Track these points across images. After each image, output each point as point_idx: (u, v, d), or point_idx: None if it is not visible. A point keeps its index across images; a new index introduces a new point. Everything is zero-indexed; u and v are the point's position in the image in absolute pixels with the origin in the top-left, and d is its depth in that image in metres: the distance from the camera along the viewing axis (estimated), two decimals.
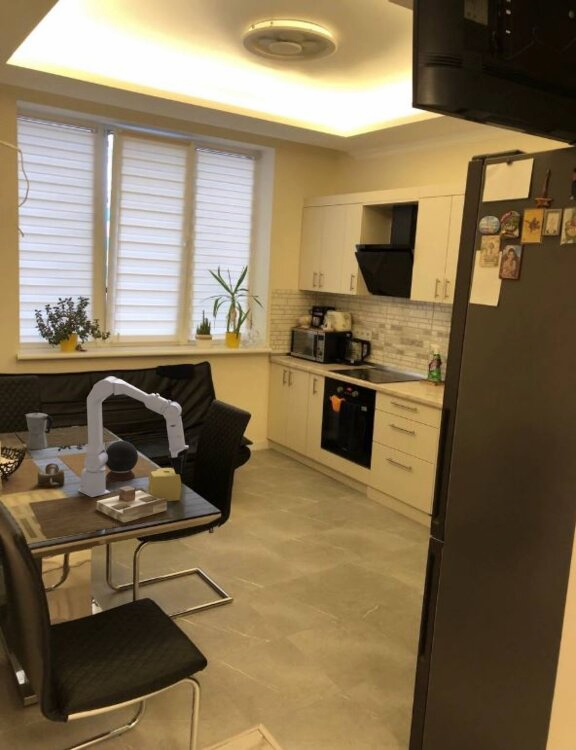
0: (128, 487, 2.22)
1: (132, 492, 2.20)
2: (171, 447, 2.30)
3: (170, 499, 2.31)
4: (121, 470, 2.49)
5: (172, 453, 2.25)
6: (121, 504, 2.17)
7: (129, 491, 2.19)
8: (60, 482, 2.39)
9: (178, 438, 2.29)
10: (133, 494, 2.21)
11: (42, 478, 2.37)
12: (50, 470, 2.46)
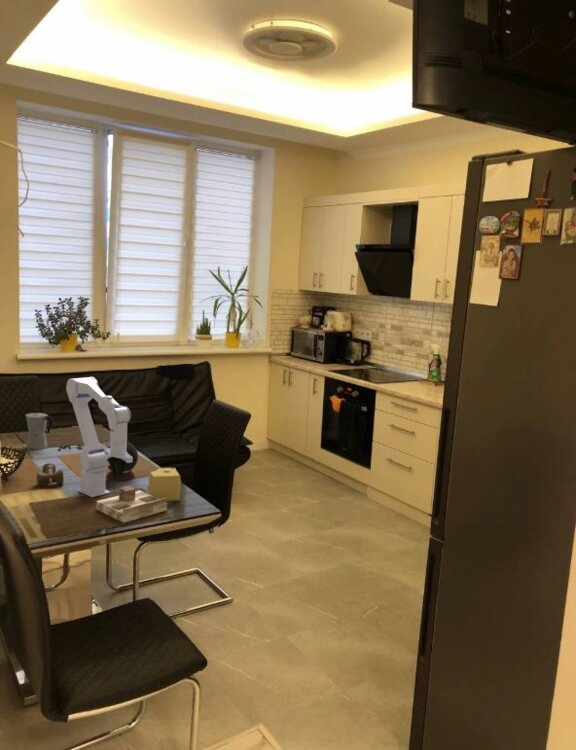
0: (128, 487, 2.22)
1: (132, 492, 2.20)
2: None
3: (170, 499, 2.31)
4: None
5: None
6: (121, 504, 2.17)
7: (129, 491, 2.19)
8: (59, 482, 2.39)
9: None
10: (133, 494, 2.21)
11: (42, 478, 2.37)
12: (48, 470, 2.46)
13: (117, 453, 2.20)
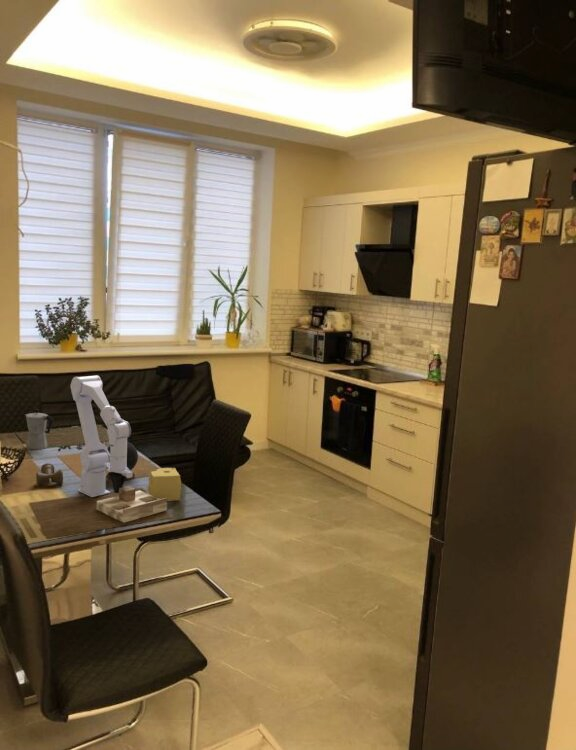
0: (128, 487, 2.22)
1: (132, 492, 2.20)
2: None
3: (170, 499, 2.31)
4: None
5: None
6: (121, 504, 2.17)
7: (129, 491, 2.19)
8: (59, 482, 2.39)
9: None
10: (133, 494, 2.21)
11: (41, 478, 2.37)
12: (47, 470, 2.46)
13: (117, 468, 2.21)
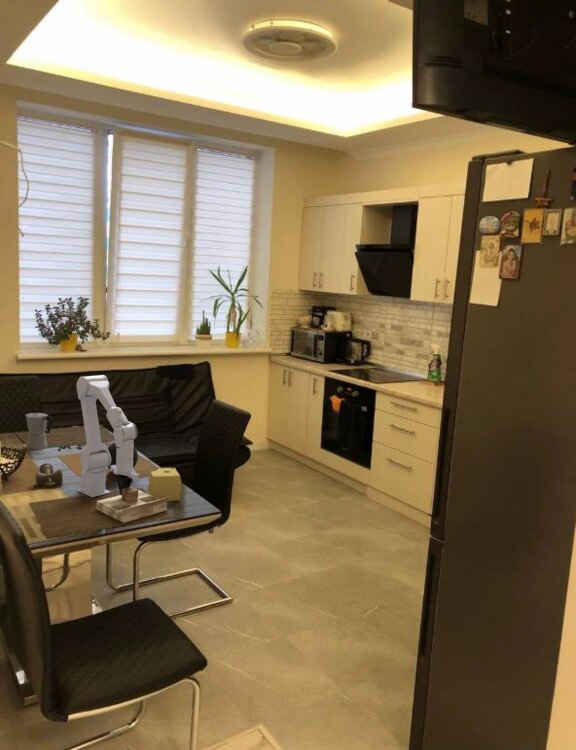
0: (131, 488, 2.21)
1: (135, 493, 2.19)
2: None
3: (170, 499, 2.31)
4: None
5: None
6: (121, 504, 2.17)
7: (132, 492, 2.18)
8: (59, 481, 2.39)
9: None
10: (136, 495, 2.20)
11: (41, 478, 2.37)
12: (46, 470, 2.46)
13: (123, 470, 2.18)
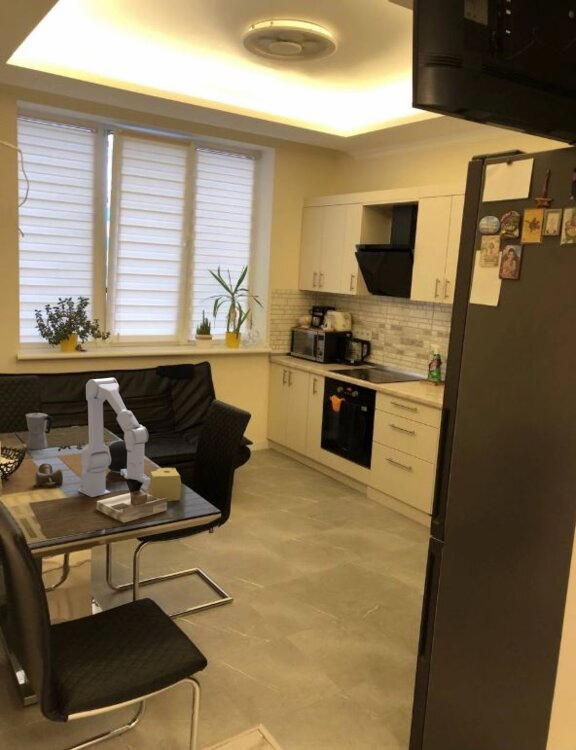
0: (140, 491, 2.17)
1: (144, 497, 2.16)
2: None
3: (170, 499, 2.31)
4: None
5: None
6: (121, 504, 2.17)
7: (141, 496, 2.15)
8: (59, 481, 2.40)
9: None
10: (145, 499, 2.16)
11: (41, 478, 2.37)
12: (45, 470, 2.46)
13: (134, 475, 2.14)
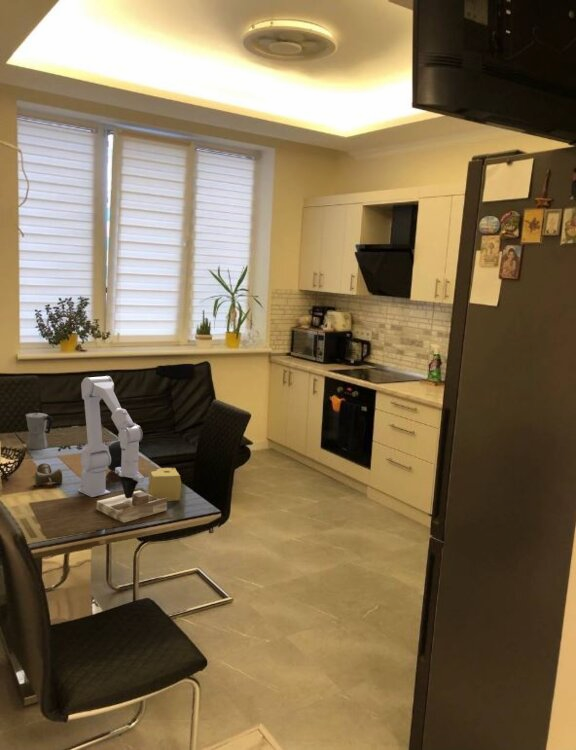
0: (141, 493, 2.17)
1: (145, 498, 2.15)
2: None
3: (170, 499, 2.31)
4: None
5: None
6: (121, 504, 2.17)
7: (142, 497, 2.14)
8: (58, 481, 2.40)
9: None
10: (146, 500, 2.16)
11: (41, 478, 2.37)
12: (44, 470, 2.46)
13: (128, 473, 2.17)
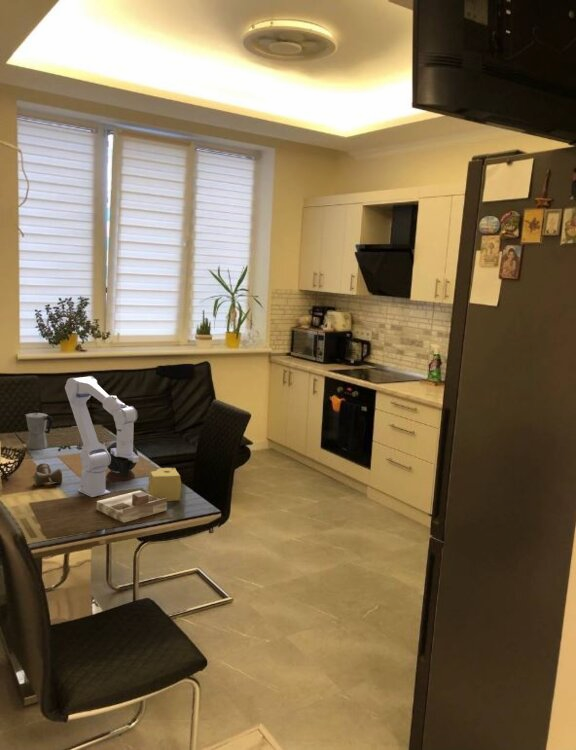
0: (141, 493, 2.17)
1: (145, 498, 2.15)
2: None
3: (170, 499, 2.31)
4: None
5: None
6: (121, 504, 2.17)
7: (142, 497, 2.14)
8: (58, 481, 2.40)
9: None
10: (146, 500, 2.16)
11: (41, 478, 2.37)
12: (44, 470, 2.46)
13: (124, 453, 2.21)
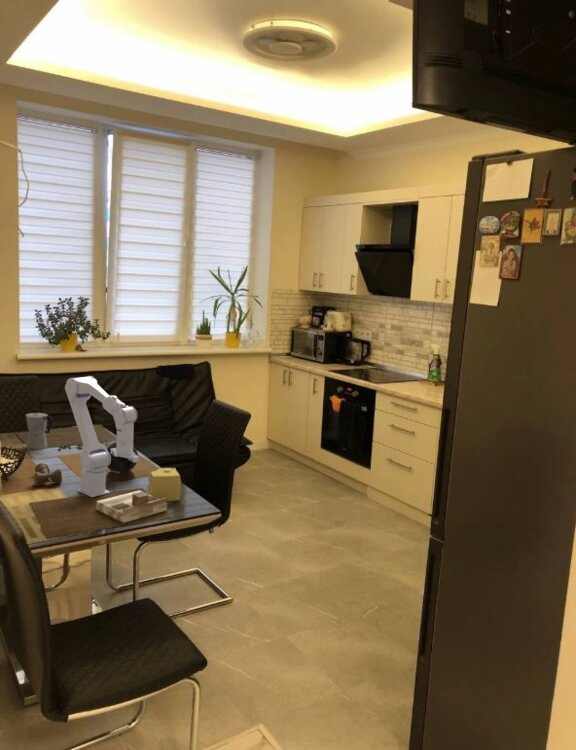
0: (141, 493, 2.17)
1: (145, 498, 2.15)
2: None
3: (170, 499, 2.31)
4: None
5: None
6: (121, 504, 2.17)
7: (142, 497, 2.14)
8: (58, 481, 2.40)
9: None
10: (146, 500, 2.16)
11: (41, 478, 2.37)
12: (43, 470, 2.46)
13: (124, 453, 2.21)
